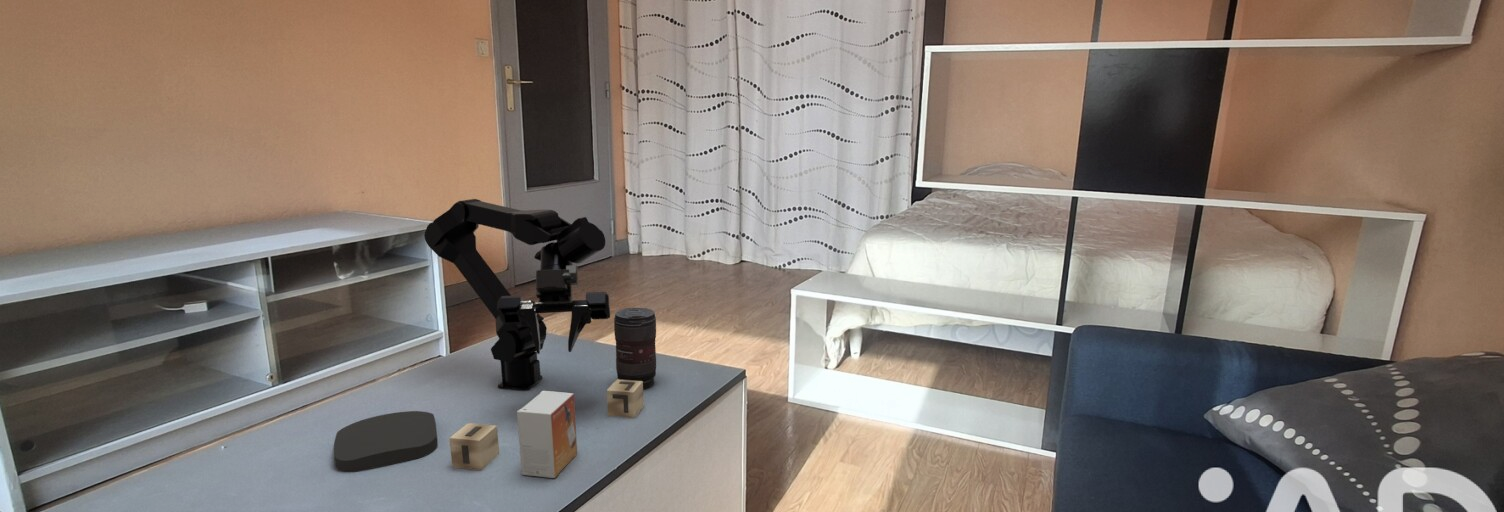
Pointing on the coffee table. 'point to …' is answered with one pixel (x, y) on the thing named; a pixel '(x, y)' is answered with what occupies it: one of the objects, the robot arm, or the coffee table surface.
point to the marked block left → (474, 446)
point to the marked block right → (625, 398)
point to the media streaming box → (385, 440)
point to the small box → (547, 434)
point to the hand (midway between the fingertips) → (553, 351)
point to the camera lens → (635, 345)
